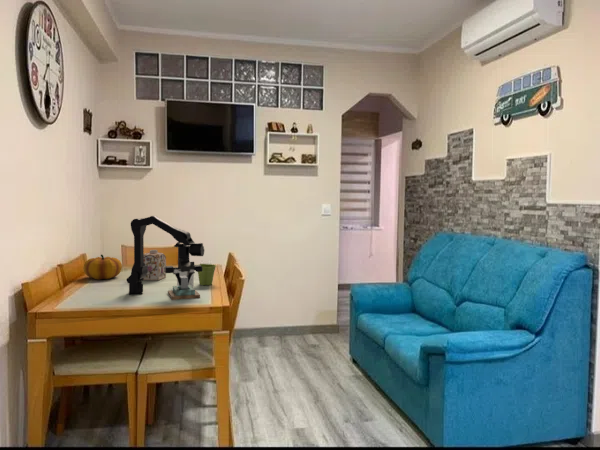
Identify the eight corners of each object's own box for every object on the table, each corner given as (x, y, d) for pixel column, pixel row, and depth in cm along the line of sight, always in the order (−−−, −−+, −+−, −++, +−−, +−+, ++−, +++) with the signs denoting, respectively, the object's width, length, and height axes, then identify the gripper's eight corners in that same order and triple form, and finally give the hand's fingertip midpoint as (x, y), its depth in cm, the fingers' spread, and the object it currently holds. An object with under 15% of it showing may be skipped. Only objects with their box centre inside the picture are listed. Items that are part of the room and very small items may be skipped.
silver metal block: (181, 289, 232) (181, 278, 231) (179, 287, 238) (179, 275, 238) (188, 289, 233) (188, 277, 233) (185, 286, 240) (185, 275, 239)
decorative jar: (166, 277, 287) (166, 249, 286) (159, 280, 275) (158, 251, 274) (148, 276, 288) (148, 248, 287) (140, 280, 276) (140, 250, 275)
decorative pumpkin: (122, 280, 276) (121, 255, 275) (82, 281, 268) (81, 256, 267) (122, 274, 295) (121, 251, 294) (84, 276, 286) (84, 252, 285)
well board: (171, 299, 226) (171, 291, 226) (167, 293, 241) (167, 285, 240) (200, 297, 231) (200, 290, 231) (194, 291, 246) (194, 284, 246)
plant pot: (211, 286, 260) (211, 267, 259) (192, 285, 262) (192, 266, 261) (219, 283, 271) (219, 264, 270) (200, 282, 274) (200, 263, 273)
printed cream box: (194, 288, 255) (194, 266, 254) (189, 289, 252) (189, 267, 251) (181, 286, 260) (181, 264, 260) (175, 287, 257) (175, 265, 256)
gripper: (167, 258, 224) (166, 289, 225) (204, 257, 231) (204, 287, 232) (164, 255, 234) (164, 285, 235) (200, 254, 241) (200, 283, 242)
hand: (183, 285), depth 236 cm, fingers closed on silver metal block, 3 cm apart
